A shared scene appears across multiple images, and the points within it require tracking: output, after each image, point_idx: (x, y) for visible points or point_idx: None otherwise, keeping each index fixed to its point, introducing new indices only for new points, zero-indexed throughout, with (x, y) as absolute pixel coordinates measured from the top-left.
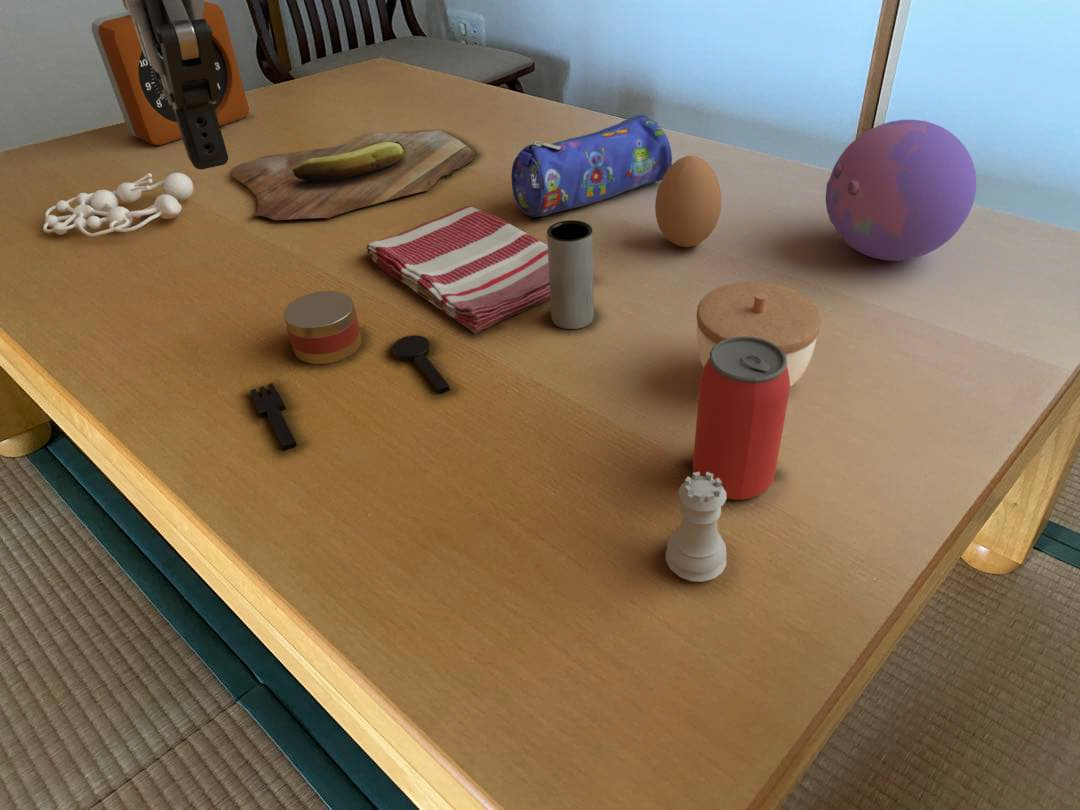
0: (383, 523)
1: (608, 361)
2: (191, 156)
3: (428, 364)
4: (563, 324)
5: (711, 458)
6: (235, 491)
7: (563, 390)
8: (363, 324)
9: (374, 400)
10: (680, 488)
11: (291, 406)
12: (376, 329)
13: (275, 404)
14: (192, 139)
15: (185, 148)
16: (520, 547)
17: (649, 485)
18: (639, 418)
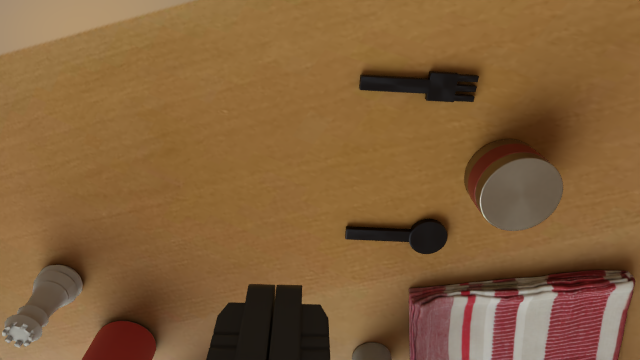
0: (208, 117)
1: None
2: (245, 301)
3: (388, 238)
4: (362, 347)
5: (102, 346)
6: (330, 10)
7: None
8: None
9: (377, 176)
10: (32, 321)
11: (426, 105)
12: None
13: (433, 92)
14: (229, 343)
15: (300, 303)
16: (128, 195)
17: (146, 295)
18: None
